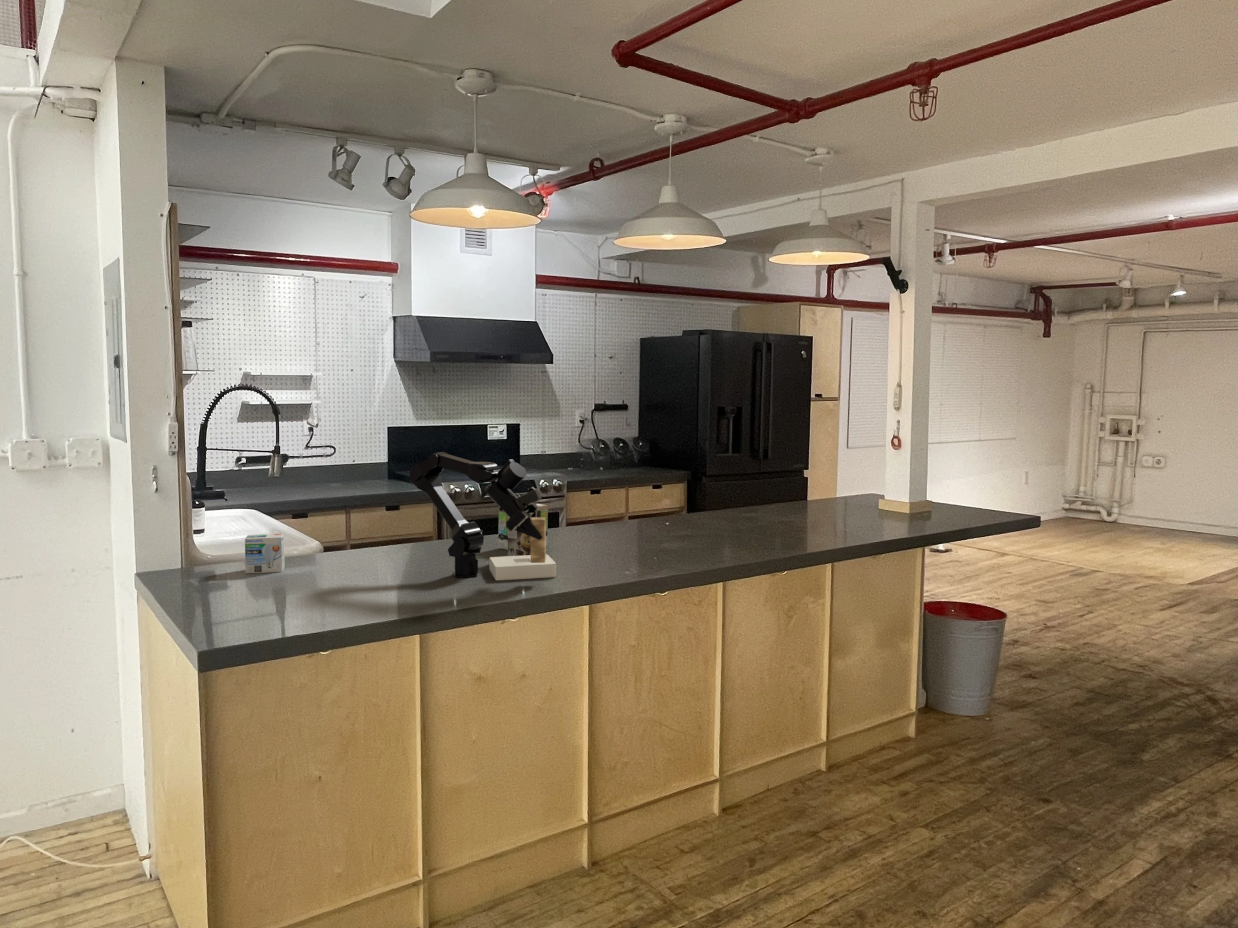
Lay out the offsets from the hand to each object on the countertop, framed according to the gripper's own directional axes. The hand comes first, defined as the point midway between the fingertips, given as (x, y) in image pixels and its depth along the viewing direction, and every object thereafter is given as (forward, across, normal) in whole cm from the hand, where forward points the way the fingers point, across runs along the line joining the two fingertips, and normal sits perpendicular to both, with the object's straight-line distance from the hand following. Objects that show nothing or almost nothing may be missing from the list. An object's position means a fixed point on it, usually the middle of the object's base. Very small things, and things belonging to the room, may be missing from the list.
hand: (542, 537), depth 255 cm
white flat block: (+3, +10, +15) cm, 19 cm away
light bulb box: (-52, +3, +71) cm, 88 cm away
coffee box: (+1, +30, +18) cm, 36 cm away
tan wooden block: (+4, 0, +6) cm, 7 cm away
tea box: (-3, +50, +22) cm, 55 cm away
